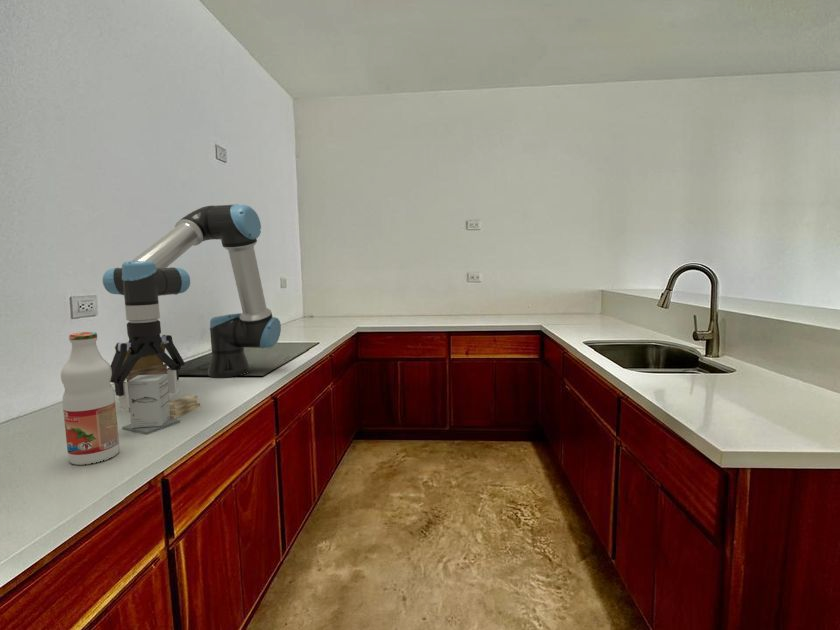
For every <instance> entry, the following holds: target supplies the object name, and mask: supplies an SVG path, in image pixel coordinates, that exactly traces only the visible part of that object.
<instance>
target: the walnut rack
mask: <svg viewBox="0 0 840 630" xmlns="http://www.w3.org/2000/svg"><path fill="white" fill-rule="evenodd" d="M167 370H168V366H167V365H166V364H165V363H163V364H162V365H157V366H153V367H148V368H144V369H139V370H135V371H130V373H129V375H128V376H127V379H126V382H128V381H130V380H131V379H133V378H135V377H136V376H138V375H155V374H167ZM168 392H169V389H168ZM128 393H129V387H128ZM129 404H130V402H129ZM128 409H129V410H128V412H129V414H130V408H128Z"/></svg>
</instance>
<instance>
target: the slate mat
mask: <svg viewBox="0 0 840 630" xmlns="http://www.w3.org/2000/svg"><path fill="white" fill-rule="evenodd" d="M179 423H181V419H177V418H175V419H172V418H169V419H168V420H167V421H166V422H165V423H164V424H163V425H162V426H159V427H158V426H155V427H138V428H131V423H129V424H125V425H123V426H121V428H122V430H125V431H129V432H134V433H140V434H143V435H149V434H151V433H154V432H157V431H160V430H162V429H163V430H164V429H165V428H168V427H171V426H173V425H176V424H179Z"/></svg>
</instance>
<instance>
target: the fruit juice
mask: <svg viewBox="0 0 840 630" xmlns="http://www.w3.org/2000/svg"><path fill="white" fill-rule="evenodd" d="M68 341H69V343H71V350H70V354H69V358H68V360H67V362H66V364H64V366H63V367H62V369H61V372H60V381H61V383H62V385H63V387H64V392H63V395H62V409H63V418H64V419H63V421H64V428H65V430H64V431H65V438H66V439H65V440H66V449H67V457H68V461H69V462H70V464H73V465H76V466H77V465H79V466H80V465H81V466H82V465H85V464H86V465H92V464H91V463H93V464H96V462H97V463H101V462H104V461H107V460H110V459H111V457H112V458H114V457H115V456H117V455H118V454H119V451H120V438H119V426H118V416H117V415H118V414H117V403H116V396H115V395H116V393H115V389H114V388H113V386H112V383H111V382H110V380H111V376H112V369H111V363H109V362H108V361H107V360H106V359H105V358H103V357H102V355H101V353H100V351H99V349H98V346H97V341H98V334H97V332H96V331H85V332H83V331H82V332H75V333H70V334H69V336H68ZM109 458H110V459H109ZM103 460H104V461H103ZM100 461H101V462H100Z"/></svg>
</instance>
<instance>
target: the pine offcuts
mask: <svg viewBox="0 0 840 630" xmlns="http://www.w3.org/2000/svg"><path fill="white" fill-rule="evenodd" d="M198 400H199V397H198V395H193V394H187V395H185V396H182V397H180V398H177V399H174V400H171V401H169V409H170V418H172V419H177V418H180V417H181V416H184V415H185V414H188V413H190V412H192V411H195V410H196V409H199V408H201V403H198Z"/></svg>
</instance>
